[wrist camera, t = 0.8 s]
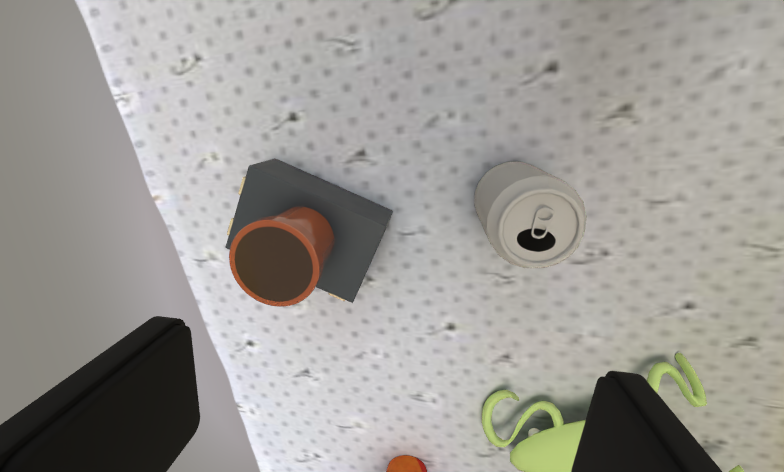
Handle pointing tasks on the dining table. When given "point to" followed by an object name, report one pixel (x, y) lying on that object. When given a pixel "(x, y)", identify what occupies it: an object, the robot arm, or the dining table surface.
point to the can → (529, 215)
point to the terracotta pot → (282, 256)
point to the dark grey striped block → (338, 206)
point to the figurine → (573, 424)
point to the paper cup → (406, 464)
